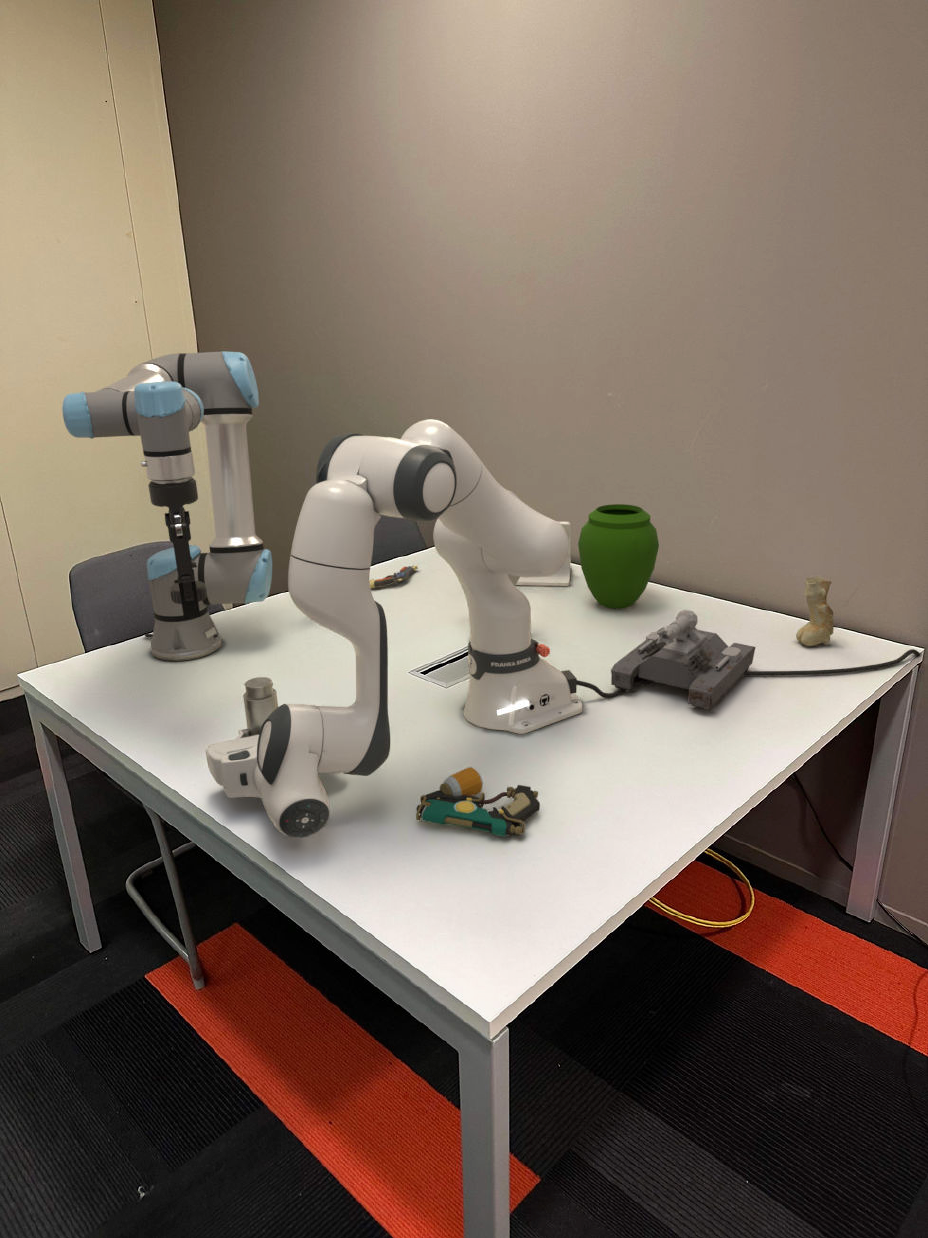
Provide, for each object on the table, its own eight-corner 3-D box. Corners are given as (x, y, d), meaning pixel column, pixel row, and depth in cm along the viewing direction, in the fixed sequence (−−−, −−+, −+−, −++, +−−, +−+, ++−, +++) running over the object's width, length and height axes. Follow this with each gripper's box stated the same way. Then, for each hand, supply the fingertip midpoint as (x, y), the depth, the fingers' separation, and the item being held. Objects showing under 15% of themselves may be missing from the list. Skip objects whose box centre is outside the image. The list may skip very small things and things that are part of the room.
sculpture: (791, 639, 190) (799, 575, 184) (822, 637, 190) (830, 573, 185) (804, 649, 184) (812, 583, 179) (836, 647, 185) (845, 581, 180)
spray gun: (551, 809, 131) (502, 864, 119) (459, 775, 139) (405, 824, 128) (552, 786, 129) (503, 840, 118) (459, 753, 137) (405, 800, 126)
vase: (599, 587, 227) (601, 497, 218) (668, 600, 216) (673, 505, 208) (562, 608, 212) (564, 513, 204) (634, 623, 202) (639, 523, 193)
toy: (661, 649, 187) (665, 584, 181) (753, 669, 176) (760, 600, 170) (609, 692, 167) (612, 620, 162) (708, 717, 156) (715, 641, 151)
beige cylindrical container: (286, 756, 148) (276, 674, 142) (283, 772, 143) (273, 687, 137) (254, 759, 147) (243, 677, 142) (250, 774, 142) (239, 690, 137)
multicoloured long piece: (366, 581, 230) (401, 578, 228) (385, 565, 248) (418, 562, 246) (367, 590, 231) (403, 587, 228) (386, 574, 248) (419, 571, 246)
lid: (164, 602, 146) (162, 589, 146) (186, 591, 152) (184, 579, 151) (193, 605, 145) (191, 592, 144) (213, 594, 150) (212, 582, 149)
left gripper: (148, 471, 148) (168, 597, 156) (147, 492, 131) (169, 632, 139) (193, 467, 150) (210, 592, 158) (197, 487, 133) (217, 626, 142)
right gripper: (344, 734, 134) (322, 699, 146) (211, 764, 127) (199, 724, 139) (347, 769, 136) (325, 732, 148) (216, 800, 129) (204, 758, 141)
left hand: (191, 610), depth 149 cm, fingers closed on lid, 6 cm apart
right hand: (263, 729), depth 143 cm, fingers closed on beige cylindrical container, 5 cm apart
